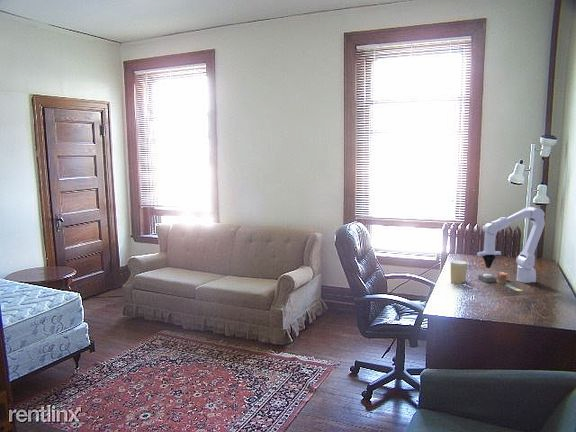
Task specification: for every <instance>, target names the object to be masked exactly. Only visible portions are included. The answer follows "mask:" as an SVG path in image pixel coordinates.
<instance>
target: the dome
mask: <svg viewBox="0 0 576 432" xmlns="http://www.w3.org/2000/svg"><path fill="white" fill-rule="evenodd" d="M482 275H483V276H484V277H486V278H489V277H492V276H493V275H492V274H490V273H483V274H482Z"/></svg>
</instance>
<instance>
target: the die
mask: <svg viewBox="0 0 576 432" xmlns="http://www.w3.org/2000/svg"><path fill="white" fill-rule="evenodd" d="M499 274H505V275H507V278H506V281H508V280H509V273H507V272H503V271H502V272H501V271H500V272H497V280H498V281H499Z"/></svg>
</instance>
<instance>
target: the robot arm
mask: <svg viewBox="0 0 576 432" xmlns="http://www.w3.org/2000/svg"><path fill="white" fill-rule="evenodd" d="M545 216H546V213H545V212H544V210H543V209H542V208H539V207H533V206H527V207H524V208H522V209H520V210H519V211H517V212H515V213H514V214H512V215H510V216H508V217H505V216H503V217H502V216H501V217H499V218H498V219H496V220H493V221H491V223H490V222H487V223H486V224H484V227H483V228H482V230H483V232H484V240H483V241H484V242H483V251H478V252H477V253H476V256H477V257H482V258H483V260H484V264H485V268H487V269H491V267H492V264H493V263H494V261H495V259H496V256H501V255H502V251H501V250H500V251H499V250H496V240H497V239H496V238H497V237H496V235H497V234H498V232H499V231H501V230H503V229H505V228H508V227H509V226H510V224H511V223H513V222H516V221H518V220H521V219H523V218H526V219H529V221H530V222H531V223H532V228H531V230H530V233H529V235H528V237H527V241H526V243H525V245H524V246H525V247H524V248H523V250H522V251H521V252H520V253H519V255H517V256H516V259H515V263H516V265H517V272H516V281H517V282H520V283H524V284H527V283H529V284H530V283H536V282H537V271H536V268H534V267H535V264H536V263H535V260H536V256H535V251H536V250H537V247H538V243H539V241H540V238H541V237H542V233H543V230H544V228H545V225H546V221H545Z"/></svg>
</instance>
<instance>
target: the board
mask: <svg viewBox="0 0 576 432" xmlns="http://www.w3.org/2000/svg"><path fill="white" fill-rule="evenodd" d="M477 278H478V280H479V281H482V282H484V283H496V282H497V280H498V279H497V278H498V276H494V275H492V277H489V278H486V277H484V276H483V274H478V277H477ZM500 285H501V286H504V287H506V288H510V289H512V290H514V291H515V292H516V291H517V292H522V291H523V289H520V288H517V287H515V286H512V285H510V284H505V285H502V284H500Z"/></svg>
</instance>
